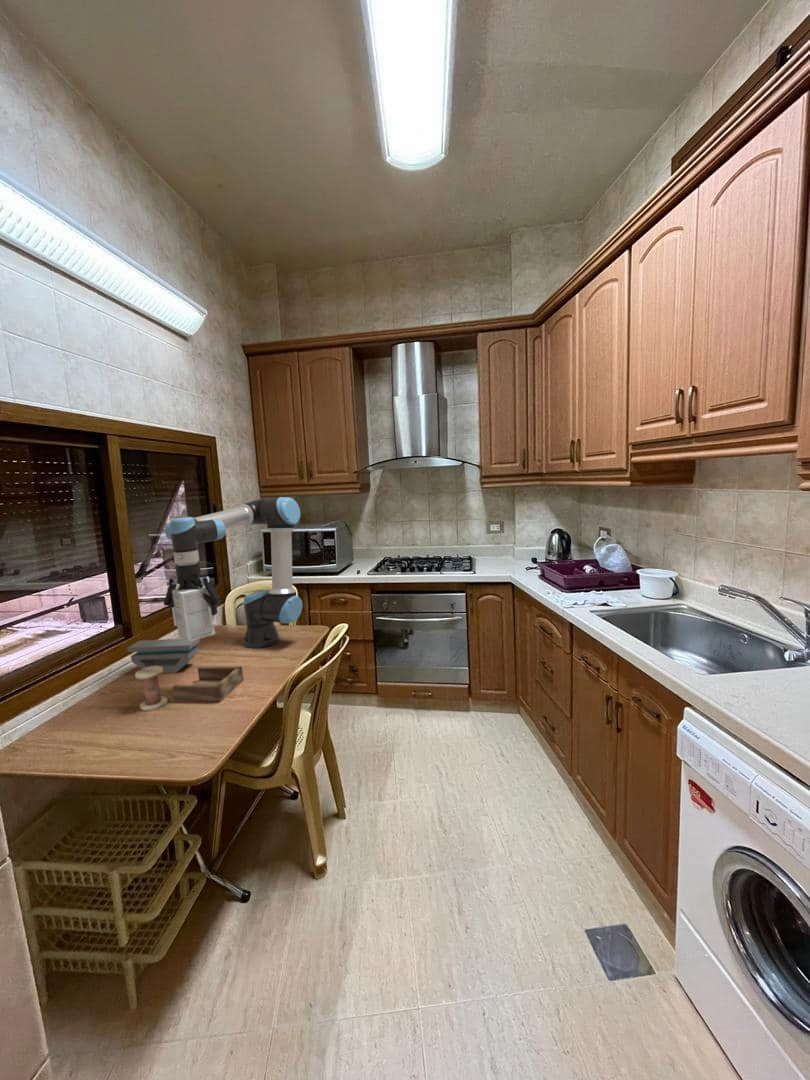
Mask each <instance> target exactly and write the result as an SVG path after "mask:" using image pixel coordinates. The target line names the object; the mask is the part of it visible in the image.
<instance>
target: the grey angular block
mask: <svg viewBox="0 0 810 1080" xmlns="http://www.w3.org/2000/svg"><path fill="white" fill-rule="evenodd" d="M200 642H201V639H197V640H194V641H191V642H187V641H185V640H184V639H182V638H173V639H172V638H169V639H149V640H146V639H145V640H139V641H137V642H135V643H132V645H130V646H128V647H127V648H126V652H128V653H131V652H134V654H132V655H131V656H130V660H131V663H132V664H135V666H137V667H138V668H140V670H141V669H143V668H146V667H150V666H162V667H163V672H162V673H161V674H173V673H174V674H176V673H177V672H179V671H181V670H182V669H183V668H184V667H185V666H186V665H187V664H188V663H189V662H190V661H191V660H192V659H193V658H194V656H196V654H197V653H198V652H199V646H198V644H199V643H200Z"/></svg>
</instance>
